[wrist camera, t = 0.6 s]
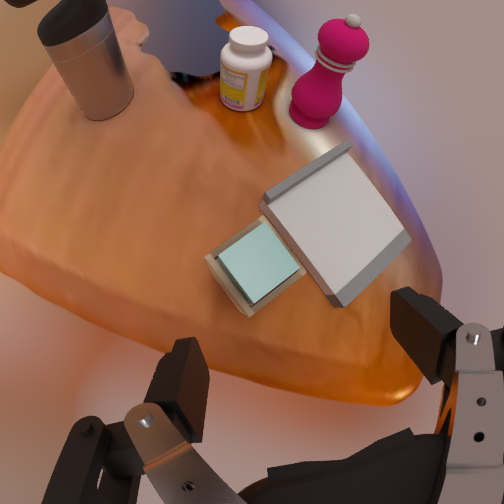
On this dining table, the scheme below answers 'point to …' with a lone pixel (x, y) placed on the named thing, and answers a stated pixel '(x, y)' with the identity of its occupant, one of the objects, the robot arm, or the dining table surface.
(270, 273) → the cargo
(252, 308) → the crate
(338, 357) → the dining table surface
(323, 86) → the pepper mill
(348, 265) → the dock
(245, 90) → the supplement bottle
